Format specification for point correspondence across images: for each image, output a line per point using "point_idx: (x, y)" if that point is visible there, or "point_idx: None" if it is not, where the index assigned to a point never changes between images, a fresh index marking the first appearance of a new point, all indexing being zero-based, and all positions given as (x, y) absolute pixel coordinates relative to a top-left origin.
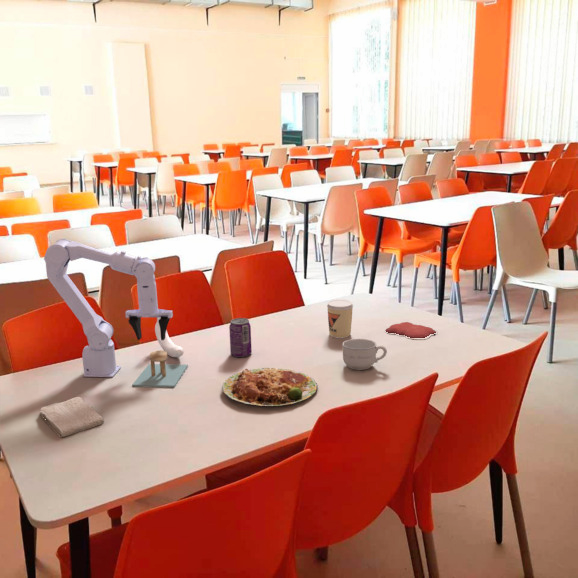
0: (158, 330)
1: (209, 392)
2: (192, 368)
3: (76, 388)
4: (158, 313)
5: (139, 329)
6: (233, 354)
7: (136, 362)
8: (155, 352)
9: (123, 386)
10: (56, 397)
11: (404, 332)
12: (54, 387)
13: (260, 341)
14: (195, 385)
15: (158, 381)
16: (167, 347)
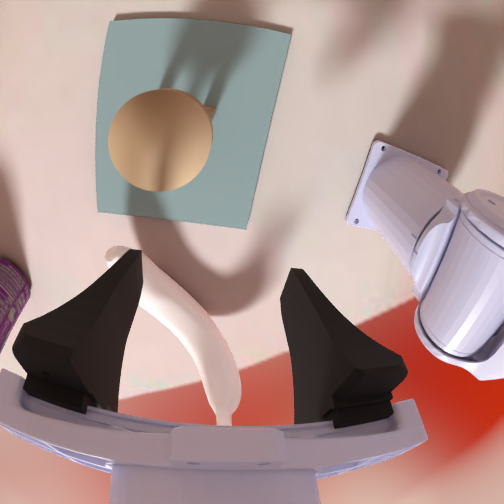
0: (226, 380)
1: (16, 18)
2: (82, 191)
3: (460, 91)
4: (65, 444)
5: (298, 335)
6: (12, 267)
7: (293, 257)
8: (179, 162)
9: (326, 46)
10: (488, 57)
11: None
12: (495, 124)
13: None
14: (49, 51)
15: (178, 51)
16: (187, 312)
